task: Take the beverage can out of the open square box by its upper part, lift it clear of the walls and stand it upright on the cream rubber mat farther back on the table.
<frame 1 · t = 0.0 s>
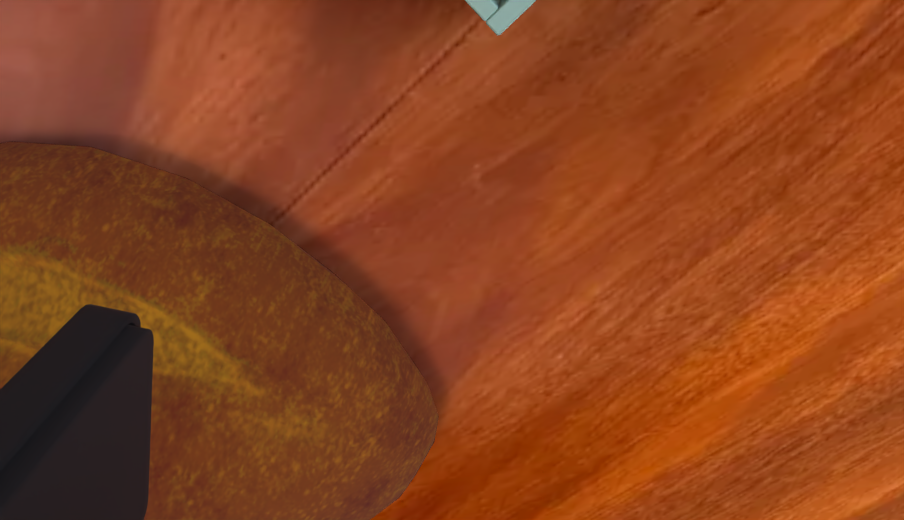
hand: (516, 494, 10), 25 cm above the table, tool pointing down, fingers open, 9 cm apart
bread: (110, 335, 41), on the table
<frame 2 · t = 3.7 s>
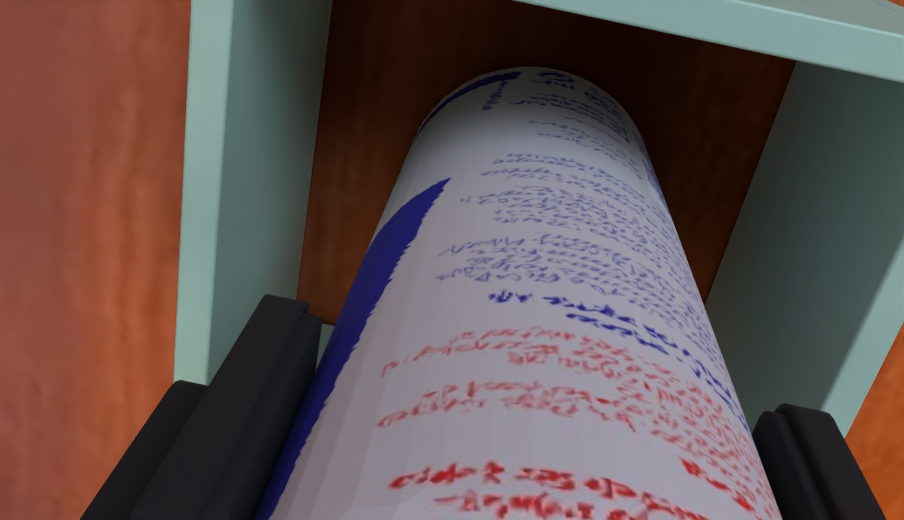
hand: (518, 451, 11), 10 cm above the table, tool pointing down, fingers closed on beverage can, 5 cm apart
beverage can: (526, 177, 20), resting in open square box, touching gripper
open square box: (525, 180, 20), on the table
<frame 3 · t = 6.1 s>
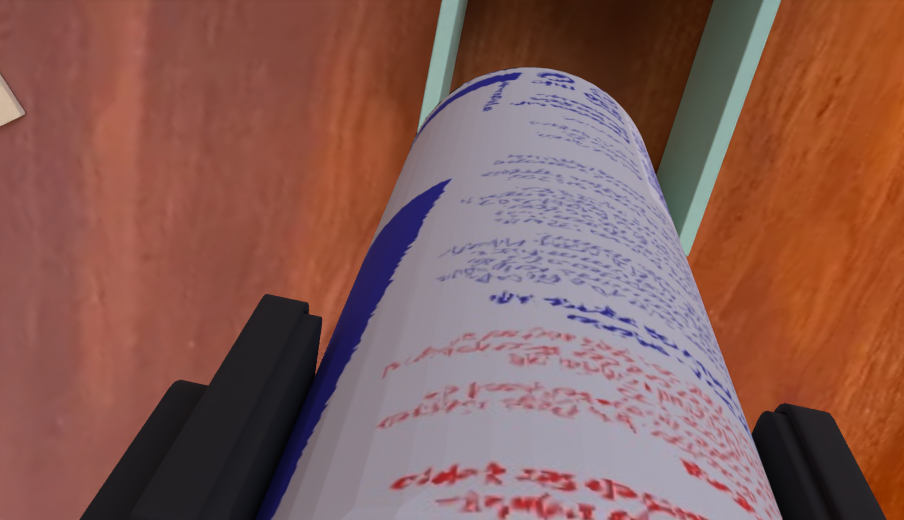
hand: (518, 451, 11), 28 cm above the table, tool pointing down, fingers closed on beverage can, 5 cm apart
beverage can: (526, 178, 20), point 18 cm above the table, touching gripper
open square box: (576, 46, 36), on the table
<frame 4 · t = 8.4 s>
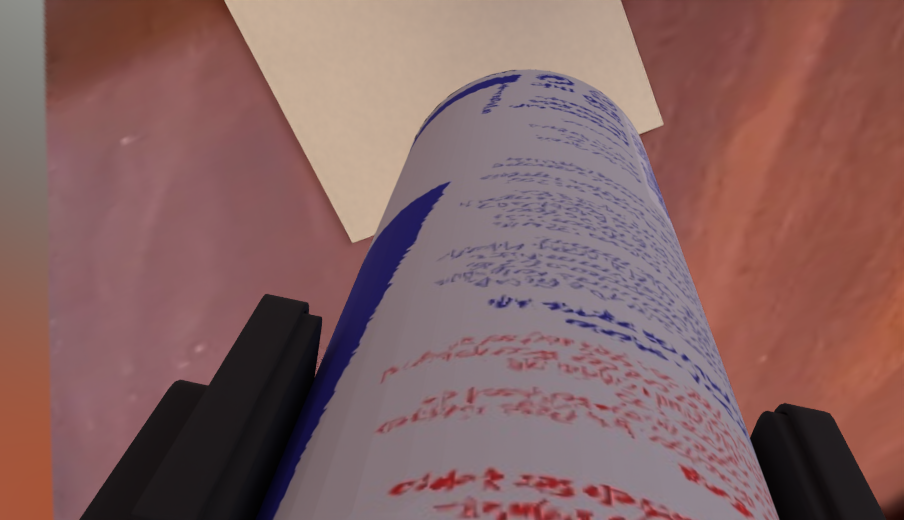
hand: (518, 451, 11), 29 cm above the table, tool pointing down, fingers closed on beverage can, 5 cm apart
beverage can: (526, 180, 20), point 19 cm above the table, touching gripper
mat: (432, 27, 37), on the table
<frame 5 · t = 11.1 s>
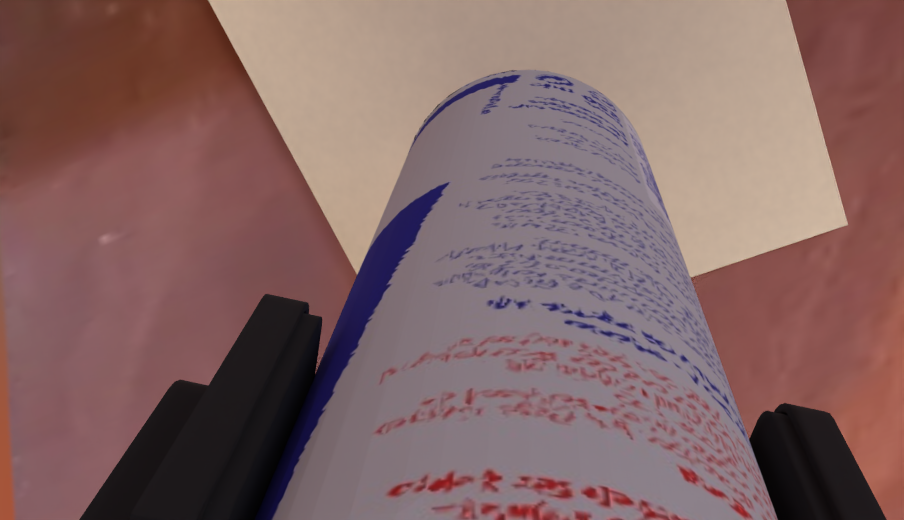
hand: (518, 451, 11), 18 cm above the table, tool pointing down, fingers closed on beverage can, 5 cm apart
beverage can: (525, 180, 20), point 8 cm above the table, touching gripper
mat: (528, 93, 27), on the table
when the fingers open (10 cm above the table, at t = 13.3 s): beverage can stays where it is, resting on mat.
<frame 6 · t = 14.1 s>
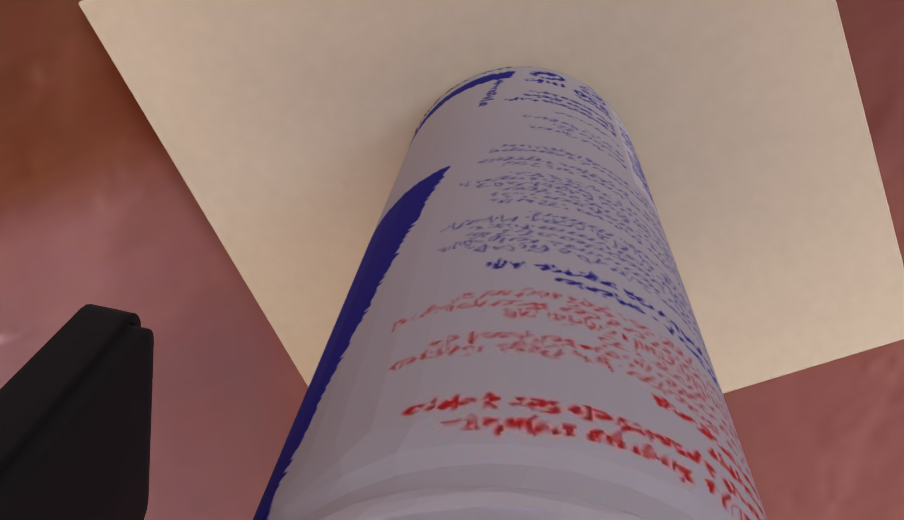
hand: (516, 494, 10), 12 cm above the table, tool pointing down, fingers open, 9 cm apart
beverage can: (520, 172, 21), resting on mat
mat: (518, 170, 21), on the table
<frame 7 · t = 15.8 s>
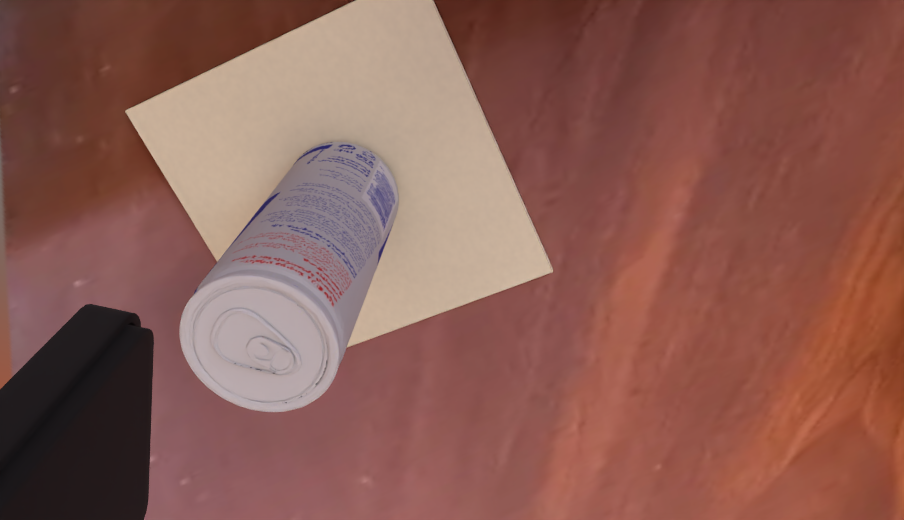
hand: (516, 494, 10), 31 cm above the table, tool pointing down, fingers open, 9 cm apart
beverage can: (345, 191, 42), resting on mat
mat: (345, 190, 42), on the table
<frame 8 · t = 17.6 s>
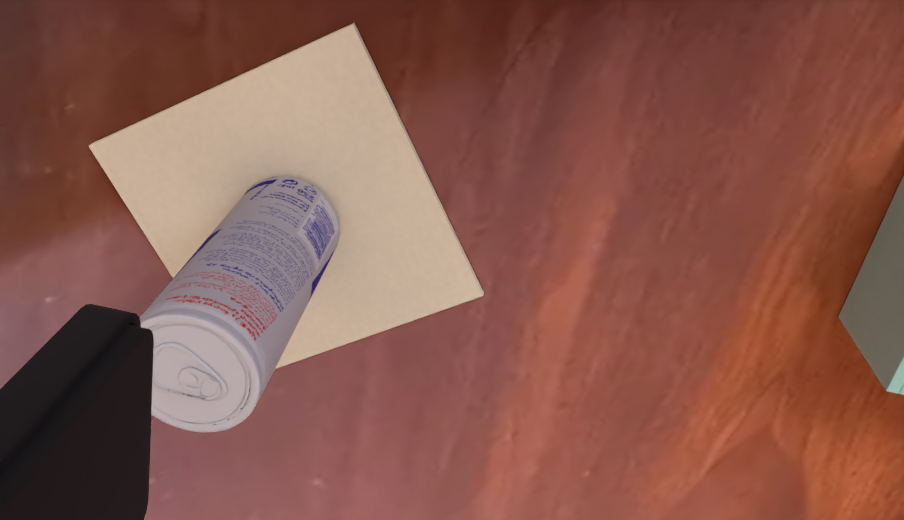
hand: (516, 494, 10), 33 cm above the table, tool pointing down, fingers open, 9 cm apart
beverage can: (291, 220, 46), resting on mat
mat: (291, 219, 46), on the table
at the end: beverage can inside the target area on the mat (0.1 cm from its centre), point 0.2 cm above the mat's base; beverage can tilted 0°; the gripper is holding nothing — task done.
